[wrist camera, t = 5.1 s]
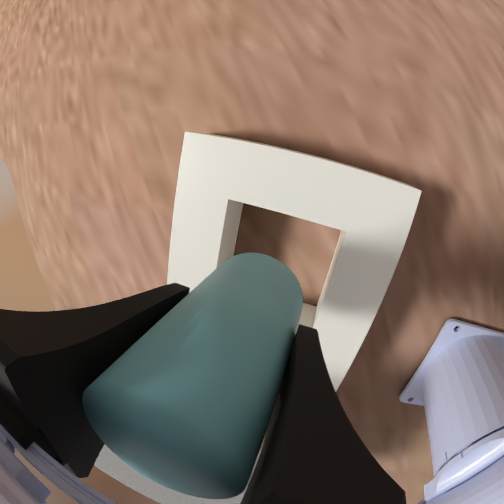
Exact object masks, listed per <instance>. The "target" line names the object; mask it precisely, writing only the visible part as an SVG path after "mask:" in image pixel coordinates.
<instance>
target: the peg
mask: <svg viewBox="0 0 504 504" xmlns="http://www.w3.org/2000/svg"><path fill="white" fill-rule="evenodd" d="M302 308H303V294H302V289H301V287H300V284H299V282H298V280H297V278H296V277H295V275H294V274H293V272H292V271H291V270H290V269H289V268H288V267H287V266H286V265H284V264H283V263H282V262H280V261H279V260H277V259H275V258H273V257H271V256H268V255H265V254H261V253H242V254H238V255H235V256H233V257H230V258H229V259H227V260H226V261H224V262H223V263H222V264H221V265H220V266H219V267H218V268H216V269H215V270H214V271H213V272H212V273H211V274H210V275H209V276H208V277H206V278H205V279H204V280H203V281H202V282H201V283H200V284H199V285H198V286H197V287H195V288H194V289H193V290H192V291H191V292H190V293H189V294H188V295H187V296H186V297H184V298H183V299H182V300H181V301H180V302H179V303H178V304H177V305H176V306H175V307H174V308H172V309H171V310H170V311H169V312H168V313H167V314H166V315H165V316H164V317H163V318H162V319H160V320H159V321H158V322H157V323H156V324H155V325H154V326H153V327H152V328H151V329H150V330H148V331H147V332H146V333H145V334H144V335H143V336H142V337H141V338H140V339H139V340H138V341H137V342H135V343H134V344H133V345H132V346H131V347H130V348H129V349H128V350H127V351H126V352H125V353H124V354H123V355H121V356H120V357H119V358H118V359H117V360H116V361H115V362H114V363H113V364H112V365H111V366H110V367H109V368H107V369H106V370H105V371H104V372H103V373H102V374H101V375H100V376H99V377H98V378H97V379H96V380H95V381H94V382H92V383H91V384H90V385H89V386H88V387H87V388H86V389H85V390H84V393H83V396H82V405H83V409H84V412H85V415H86V417H87V419H88V421H89V423H90V425H91V426H92V428H93V429H94V431H95V432H96V434H97V435H98V436H99V438H100V439H101V440H102V441H103V442H104V443H105V445H106V446H107V447H108V448H109V449H110V450H111V451H112V452H113V453H115V454H116V455H117V456H118V457H119V458H120V459H121V460H123V461H124V462H125V463H126V464H128V465H129V466H130V467H132V468H133V469H134V470H136V471H137V472H139V473H141V474H142V475H144V476H145V477H147V478H149V479H151V480H152V481H154V482H156V483H158V484H160V485H163V486H165V487H167V488H169V489H172V490H175V491H177V492H180V493H183V494H187V495H190V496H194V497H200V498H206V499H228V498H232V497H235V496H238V495H239V494H241V493H242V492H243V491H244V490H245V489H246V486H247V484H248V481H249V478H250V476H251V473H252V470H253V468H254V465H255V462H256V459H257V457H258V454H259V451H260V448H261V445H262V442H263V439H264V436H265V433H266V430H267V427H268V424H269V421H270V418H271V415H272V412H273V409H274V406H275V403H276V400H277V396H278V393H279V390H280V387H281V383H282V380H283V377H284V373H285V370H286V367H287V363H288V359H289V356H290V352H291V348H292V345H293V341H294V337H295V334H296V331H297V327H298V323H299V320H300V316H301V312H302Z"/></svg>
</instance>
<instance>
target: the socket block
mask: <svg viewBox="0 0 504 504" xmlns="http://www.w3.org/2000/svg"><path fill="white" fill-rule="evenodd" d="M421 192H422V191H421V190H419V189H417V188H415V187H413V186H411V185H409V184H406V183H403V182H401V181H398V180H395V179H392V178H389V177H386V176H383V175H380V174H377V173H374V172H371V171H367V170H364V169H361V168H358V167H354V166H351V165H348V164H344V163H341V162H337V161H334V160H330V159H326V158H323V157H319V156H315V155H311V154H307V153H303V152H299V151H295V150H291V149H286V148H282V147H277V146H273V145H268V144H263V143H258V142H253V141H248V140H243V139H238V138H232V137H227V136H221V135H215V134H208V133H196V132H185V136H184V142H183V148H182V154H181V161H180V167H179V174H178V181H177V189H176V196H175V205H174V213H173V222H172V232H171V242H170V253H169V265H168V279H167V285H168V284H171V283H178V284H181V285H184V286H186V287H189V288H190V291H189V293H190V292H191V291H192V290H193V289H194V288H195V287H197V286H198V285H199V284H200V283H201V282H202V281H203V280H204V279H205V278H206V277H208V276H209V275H210V274H211V273H212V272H213V271H214V270H215V269H216V268H218V267H219V266H220V265H221V264H222V263H223V262H224V261H226V260H227V259H229V258H230V257H233V256H234V250H235V245H236V240H237V234H238V229H239V224H240V219H241V214H242V208H243V203H246V204H249V205H253V206H257V207H261V208H265V209H268V210H272V211H276V212H279V213H283V214H287V215H290V216H294V217H298V218H301V219H305V220H308V221H312V222H315V223H319V224H322V225H325V226H329V227H332V228H336V229H339V230H341V233H340V236H339V240H338V243H337V246H336V249H335V252H334V256H333V259H332V262H331V265H330V268H329V271H328V274H327V277H326V280H325V283H324V286H323V289H322V292H321V295H320V297H319V300H318V303H317V306H313V305H310V304H307V303H303V308H302V312H301V316H300V320H299V323H298V326H299V324H301V325H304V326H308V327H311V328H314V329H317V331H318V335H319V340H320V345H321V349H322V353H323V357H324V360H325V364H326V367H327V370H328V373H329V376H330V379H331V382H332V384H333V387H334V389H335V392H336V391H337V389H338V387H339V386H340V384H341V382H342V380H343V379H344V377H345V375H346V373H347V371H348V369H349V368H350V366H351V364H352V362H353V360H354V358H355V356H356V355H357V353H358V351H359V349H360V347H361V345H362V343H363V341H364V339H365V337H366V335H367V333H368V331H369V329H370V326H371V324H372V322H373V320H374V318H375V316H376V314H377V311H378V309H379V307H380V305H381V302H382V300H383V298H384V296H385V293H386V291H387V288H388V286H389V284H390V281H391V279H392V276H393V274H394V271H395V269H396V266H397V264H398V261H399V258H400V256H401V253H402V250H403V247H404V245H405V242H406V239H407V236H408V233H409V230H410V227H411V224H412V221H413V218H414V215H415V212H416V209H417V205H418V202H419V199H420V195H421ZM297 329H298V327H297ZM296 332H297V331H296Z"/></svg>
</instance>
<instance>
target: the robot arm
mask: <svg viewBox="0 0 504 504" xmlns="http://www.w3.org/2000/svg"><path fill="white" fill-rule="evenodd" d="M189 291H190V288H189V287H186V286H184V285H181V284H178V283H171V284H168V285H164V286H161V287H158V288H155V289H152V290H149V291H146V292H143V293H140V294H137V295H134V296H130V297H127V298H123V299H120V300H116V301H112V302H109V303H105V304H101V305H96V306H91V307H86V308H80V309H73V310H61V311H50V312H27V311H26V312H25V311H12V310H4V309H0V504H48V503H47V502H45V500H46V498H47V497H48V496H49V495H50V493H51V491H50V490H49V489H48V488H47V487H46V486H45V485H44V484H43V483H42V482H40V481H39V480H38V479H37V478H36V477H35V476H34V475H33V474H32V473H31V472H30V471H29V469H28V468H27V467H26V466H25V465H24V464H23V463H22V462H21V461H20V460H19V459H18V458H17V457H16V456H15V455H14V452H15V450H14V448H15V449H16V450H17V451H18V452H19V453H20V454H21V455H22V456H23V457H24V458H25V459H26V460H27V461H28V462H30V464H32V465H33V466H34V467H35V468H36V469H37V470H38V471H39V472H40V473H42V474H43V475H44V476H45V477H46V478H47V479H48V480H50V481H51V482H52V483H53V484H54V485H56V486H57V487H58V488H59V489H61V490H62V491H63V492H65V493H66V494H67V495H68V496H70V497H71V498H72V499H74V500H75V501H77V502H78V503H79V504H117V503H115V502H114V501H112V500H111V499H109V498H107V497H106V496H104V495H102V494H101V493H99V492H98V491H96V490H95V489H93V488H92V487H90V486H89V485H87V484H86V483H85V482H83V481H82V480H80V479H79V478H84V477H88V476H89V473H90V471H91V469H92V467H93V465H94V463H95V461H96V459H97V457H98V455H99V453H100V451H101V450H102V448H103V446H104V444H105V443H104V442H103V441H102V440H101V439H100V438H99V436H98V435H97V434H96V432H95V431H94V429H93V428H92V426H91V425H90V423H89V421H88V419H87V417H86V415H85V412H84V409H83V405H82V396H83V393H84V390H85V389H86V388H87V387H88V386H89V385H90V384H91V383H92V382H94V381H95V380H96V379H97V378H98V377H99V376H100V375H101V374H102V373H103V372H104V371H105V370H106V369H107V368H109V367H110V366H111V365H112V364H113V363H114V362H115V361H116V360H117V359H118V358H119V357H120V356H121V355H123V354H124V353H125V352H126V351H127V350H128V349H129V348H130V347H131V346H132V345H133V344H134V343H135V342H137V341H138V340H139V339H140V338H141V337H142V336H143V335H144V334H145V333H146V332H147V331H148V330H150V329H151V328H152V327H153V326H154V325H155V324H156V323H157V322H158V321H159V320H160V319H162V318H163V317H164V316H165V315H166V314H167V313H168V312H169V311H170V310H171V309H172V308H174V307H175V306H176V305H177V304H178V303H179V302H180V301H181V300H182V299H183V298H184V297H186V296H187V295H188V294H189ZM456 326H458V328H456V329H454V328H455V327H456ZM411 397H412V398H411ZM399 399H400V401H401V402H404V403H409V404H415V405H422V406H424V409H425V414H426V420H427V426H428V432H429V439H430V446H431V454H432V463H433V473H434V479H433V480H432V481H430V482H429V483H427V484H425V485H424V497H425V499H423V500H422V501H420V502H419V503H418V504H504V333H502V332H499V331H495V330H492V329H488V328H485V327H481V326H478V325H474V324H471V323H467V322H464V321H460V320H457V319H449V320H447V321H446V323H445V324H444V326H443V328H442V330H441V331H440V333H439V335H438V337H437V338H436V340H435V342H434V344H433V345H432V347H431V349H430V350H429V352H428V354H427V355H426V357H425V358H424V360H423V362H422V363H421V365H420V366H419V368H418V369H417V371H416V372H415V374H414V375H413V377H412V378H411V380H410V381H409V383H408V384H407V386H406V387H405V388H404V390H403V391H402V393H401V394H400V396H399ZM59 463H60V464H59ZM64 467H65V468H64ZM68 470H69V471H68ZM76 476H77V477H76ZM240 504H406V497H405V491H404V490H403V489H402V488H401V487H400V486H399V485H398V484H397V483H396V482H395V481H394V480H393V479H392V478H391V477H390V476H389V475H388V474H387V473H386V472H385V471H384V469H383V468H382V467H381V466H380V465H379V463H378V462H377V461H376V460H375V458H374V457H373V456H372V455H371V453H370V452H369V451H368V449H367V448H366V446H365V445H364V443H363V442H362V440H361V439H360V437H359V436H358V434H357V433H356V431H355V430H354V428H353V426H352V425H351V423H350V421H349V419H348V417H347V415H346V414H345V412H344V410H343V408H342V406H341V403H340V401H339V399H338V397H337V394H336V392H335V389H334V387H333V384H332V382H331V379H330V376H329V373H328V370H327V367H326V364H325V360H324V357H323V353H322V349H321V345H320V340H319V335H318V331H317V329H314V328H311V327H308V326H304V325H301V324H299V326H298V329H297V332H296V334H295V337H294V341H293V345H292V348H291V352H290V356H289V359H288V363H287V367H286V370H285V373H284V377H283V380H282V383H281V387H280V390H279V393H278V396H277V400H276V403H275V406H274V409H273V412H272V415H271V418H270V421H269V424H268V427H267V432H266V436H265V440H264V443H263V447H262V450H261V453H260V456H259V458H258V461H257V464H256V466H255V469H254V471H253V474H252V476H251V479H250V481H249V484H248V486H247V489H246V491H245V494H244V496H243V498H242V501H241V503H240Z"/></svg>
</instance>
